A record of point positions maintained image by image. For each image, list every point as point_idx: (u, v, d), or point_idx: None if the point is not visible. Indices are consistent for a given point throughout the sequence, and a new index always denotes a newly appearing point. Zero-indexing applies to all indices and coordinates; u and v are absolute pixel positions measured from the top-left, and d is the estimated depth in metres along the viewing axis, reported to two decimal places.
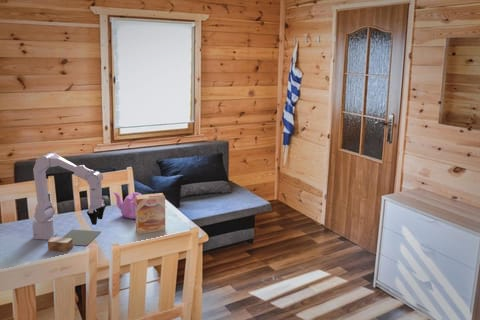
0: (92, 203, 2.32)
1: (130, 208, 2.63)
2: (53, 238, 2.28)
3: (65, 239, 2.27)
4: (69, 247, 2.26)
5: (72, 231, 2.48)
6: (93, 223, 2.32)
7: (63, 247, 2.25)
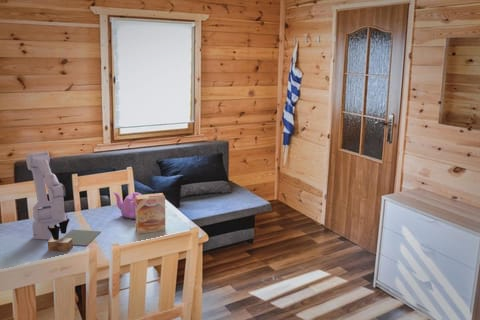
0: (53, 217, 2.21)
1: (130, 208, 2.63)
2: None
3: (65, 239, 2.28)
4: (69, 247, 2.26)
5: (72, 231, 2.48)
6: (55, 238, 2.22)
7: (63, 247, 2.25)
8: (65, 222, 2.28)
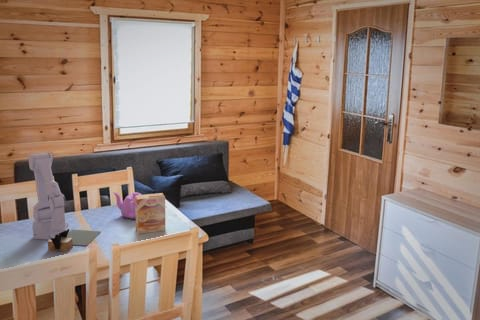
0: (54, 227, 2.23)
1: (130, 208, 2.63)
2: None
3: (65, 239, 2.28)
4: (69, 246, 2.26)
5: (72, 231, 2.48)
6: (56, 247, 2.24)
7: (63, 246, 2.25)
8: (65, 232, 2.29)
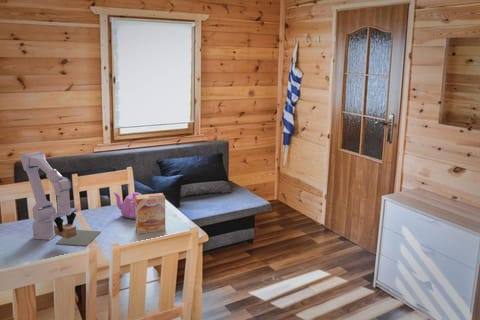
0: (58, 210, 2.26)
1: (130, 208, 2.63)
2: None
3: (69, 225, 2.29)
4: (69, 234, 2.27)
5: None
6: (59, 230, 2.27)
7: (64, 232, 2.27)
8: (71, 217, 2.30)
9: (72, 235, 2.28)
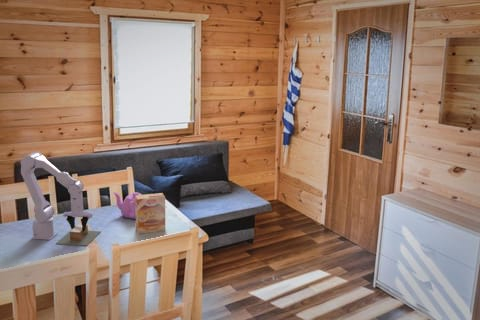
0: None
1: (130, 208, 2.63)
2: None
3: (78, 229, 2.38)
4: (72, 237, 2.36)
5: None
6: None
7: None
8: None
9: (75, 239, 2.36)
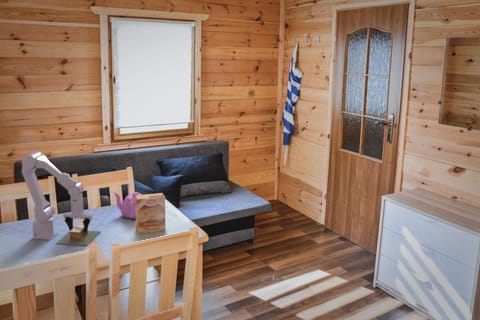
0: None
1: (130, 208, 2.63)
2: (83, 225, 2.44)
3: (78, 229, 2.38)
4: (72, 237, 2.36)
5: None
6: None
7: None
8: None
9: (75, 239, 2.36)
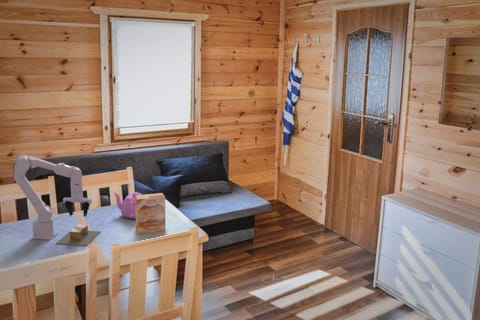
0: None
1: (130, 208, 2.63)
2: (83, 225, 2.44)
3: (78, 229, 2.38)
4: (72, 237, 2.36)
5: None
6: None
7: None
8: None
9: (75, 239, 2.36)
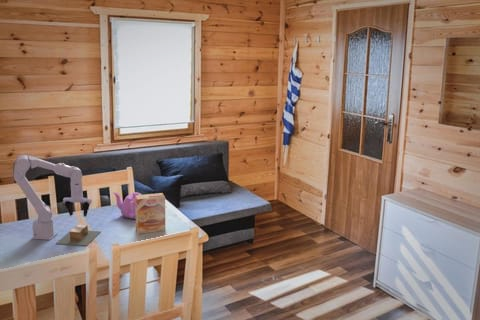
0: None
1: (130, 208, 2.63)
2: (83, 225, 2.44)
3: (78, 229, 2.38)
4: (72, 237, 2.36)
5: None
6: None
7: None
8: None
9: (75, 239, 2.36)
